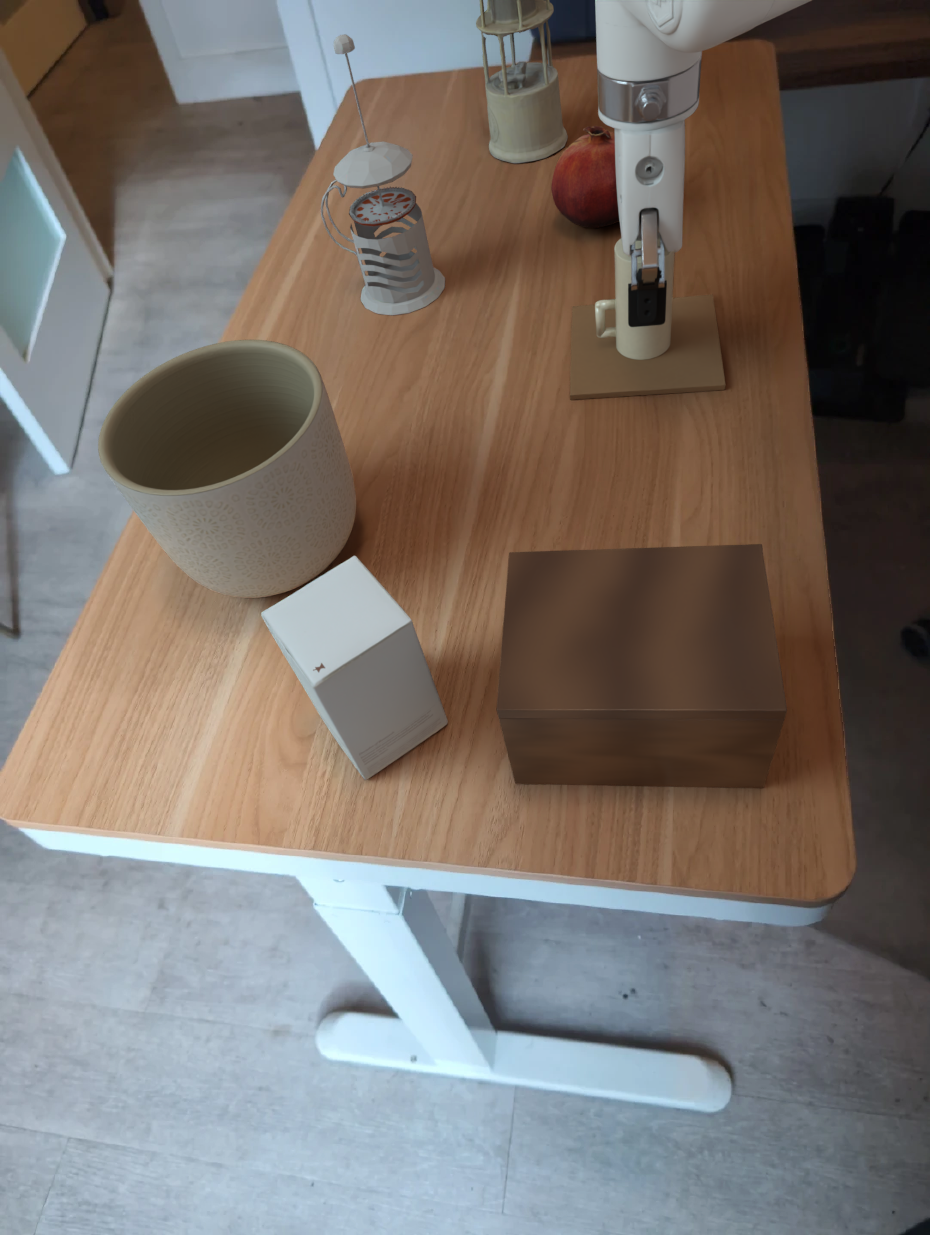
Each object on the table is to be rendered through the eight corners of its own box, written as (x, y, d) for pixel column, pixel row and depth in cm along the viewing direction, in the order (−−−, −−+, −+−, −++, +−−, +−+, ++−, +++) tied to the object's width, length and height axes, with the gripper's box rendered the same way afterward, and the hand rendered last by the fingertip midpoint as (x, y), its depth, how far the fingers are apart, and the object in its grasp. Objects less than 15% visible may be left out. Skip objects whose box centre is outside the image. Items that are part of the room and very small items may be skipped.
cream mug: (669, 324, 82) (673, 226, 74) (672, 357, 79) (677, 259, 71) (596, 330, 83) (593, 234, 75) (596, 363, 80) (592, 267, 72)
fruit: (547, 245, 94) (540, 155, 86) (562, 199, 100) (556, 109, 92) (643, 244, 91) (644, 150, 83) (653, 196, 97) (655, 103, 89)
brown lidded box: (744, 634, 60) (761, 543, 52) (763, 788, 53) (787, 710, 45) (523, 637, 63) (508, 551, 55) (515, 783, 56) (496, 710, 48)
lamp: (477, 163, 108) (435, -138, 85) (511, 115, 115) (480, -176, 91) (553, 164, 105) (531, -148, 81) (583, 115, 111) (571, -187, 88)
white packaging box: (452, 724, 60) (416, 621, 50) (364, 783, 58) (308, 689, 48) (399, 658, 64) (356, 551, 54) (316, 712, 62) (255, 611, 52)
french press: (434, 314, 90) (379, 54, 70) (334, 316, 93) (254, 66, 73) (453, 262, 95) (407, 7, 75) (358, 266, 98) (289, 20, 78)
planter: (332, 639, 66) (266, 506, 54) (151, 611, 71) (52, 484, 59) (399, 485, 75) (355, 342, 63) (234, 470, 80) (164, 334, 68)
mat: (712, 299, 84) (713, 294, 83) (725, 390, 76) (725, 384, 75) (572, 311, 86) (572, 306, 86) (570, 400, 78) (569, 395, 78)
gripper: (709, 136, 57) (693, 352, 71) (692, 33, 67) (681, 240, 81) (597, 149, 58) (604, 359, 72) (597, 46, 68) (603, 248, 82)
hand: (644, 295), depth 76 cm, fingers open, 7 cm apart
